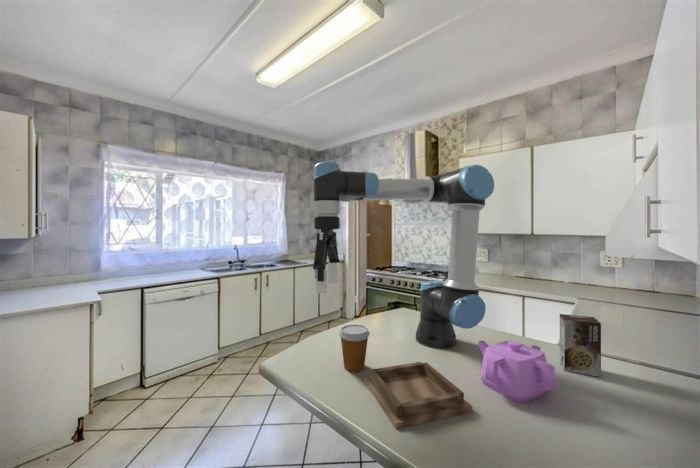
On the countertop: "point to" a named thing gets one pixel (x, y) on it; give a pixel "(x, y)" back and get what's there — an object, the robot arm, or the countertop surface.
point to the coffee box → (580, 344)
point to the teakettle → (516, 370)
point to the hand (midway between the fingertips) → (327, 287)
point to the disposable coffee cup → (354, 346)
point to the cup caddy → (415, 394)
